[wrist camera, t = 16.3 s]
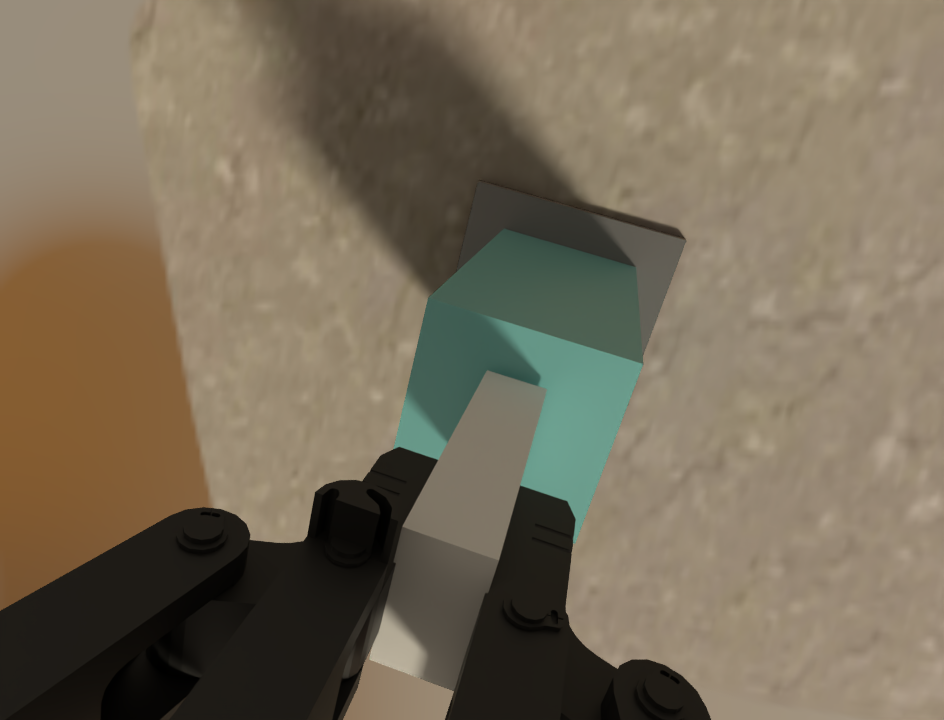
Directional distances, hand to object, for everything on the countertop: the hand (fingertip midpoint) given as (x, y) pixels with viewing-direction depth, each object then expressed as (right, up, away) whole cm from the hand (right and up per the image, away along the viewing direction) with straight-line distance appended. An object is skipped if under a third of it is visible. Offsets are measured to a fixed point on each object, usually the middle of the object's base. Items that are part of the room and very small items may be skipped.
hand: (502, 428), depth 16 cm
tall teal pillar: (+2, +4, +10) cm, 11 cm away
